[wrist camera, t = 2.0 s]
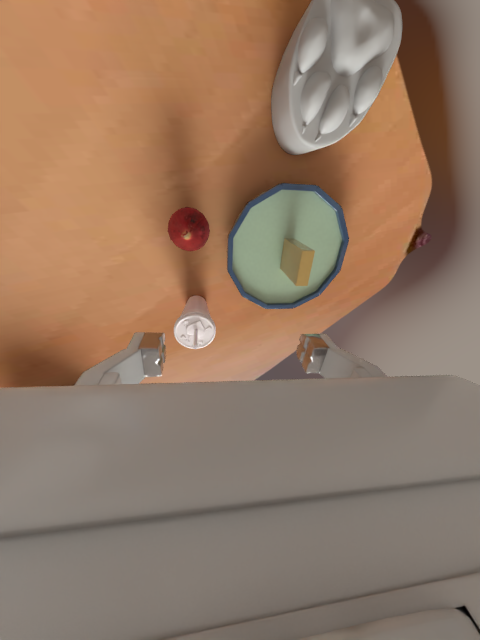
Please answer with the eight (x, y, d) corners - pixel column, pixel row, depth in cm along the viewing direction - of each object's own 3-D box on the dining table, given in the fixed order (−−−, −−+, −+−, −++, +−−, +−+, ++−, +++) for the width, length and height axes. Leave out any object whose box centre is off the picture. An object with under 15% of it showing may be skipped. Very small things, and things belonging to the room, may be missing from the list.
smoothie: (218, 295, 42) (224, 338, 30) (207, 322, 45) (207, 371, 33) (185, 283, 40) (177, 325, 28) (175, 313, 43) (164, 362, 31)
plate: (228, 180, 31) (235, 178, 24) (358, 187, 34) (400, 188, 27) (226, 306, 42) (230, 332, 34) (326, 304, 44) (350, 327, 37)
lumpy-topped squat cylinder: (371, 56, 28) (430, 12, 21) (315, 170, 34) (346, 166, 26) (304, -4, 25) (346, -82, 18) (254, 132, 30) (270, 116, 23)
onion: (182, 196, 33) (177, 199, 26) (215, 220, 35) (218, 228, 29) (165, 231, 35) (155, 242, 28) (197, 251, 38) (195, 266, 31)
